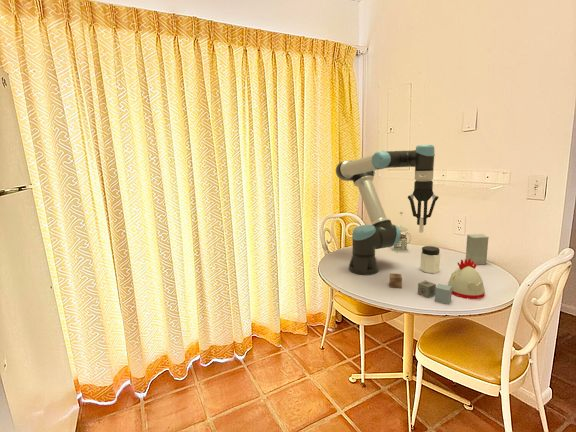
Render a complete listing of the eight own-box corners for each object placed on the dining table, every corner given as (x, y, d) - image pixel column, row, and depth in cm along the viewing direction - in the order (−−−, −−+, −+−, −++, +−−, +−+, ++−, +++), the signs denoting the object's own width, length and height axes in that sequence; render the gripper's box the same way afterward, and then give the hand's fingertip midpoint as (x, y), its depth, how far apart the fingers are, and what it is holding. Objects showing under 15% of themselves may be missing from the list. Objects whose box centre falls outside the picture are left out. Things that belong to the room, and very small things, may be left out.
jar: (432, 274, 151) (433, 251, 149) (417, 270, 157) (418, 248, 155) (442, 270, 156) (443, 248, 153) (427, 266, 162) (428, 245, 160)
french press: (397, 247, 199) (398, 209, 194) (413, 250, 190) (415, 211, 186) (388, 250, 193) (389, 211, 188) (405, 254, 184) (407, 214, 179)
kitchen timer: (441, 286, 137) (442, 254, 134) (469, 284, 138) (472, 253, 135) (460, 300, 124) (462, 265, 121) (492, 298, 124) (495, 263, 122)
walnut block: (390, 287, 138) (390, 277, 137) (389, 283, 143) (389, 273, 142) (401, 288, 136) (402, 278, 136) (400, 284, 141) (401, 274, 140)
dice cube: (424, 291, 133) (425, 280, 132) (435, 295, 129) (436, 284, 128) (417, 293, 130) (418, 283, 130) (428, 298, 126) (428, 287, 125)
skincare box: (480, 260, 168) (482, 233, 165) (487, 265, 161) (489, 236, 158) (464, 260, 169) (466, 233, 166) (470, 265, 162) (472, 236, 159)
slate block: (434, 301, 123) (435, 287, 122) (438, 296, 127) (438, 283, 126) (448, 304, 120) (449, 290, 119) (451, 300, 124) (452, 286, 123)
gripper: (406, 181, 134) (404, 232, 138) (439, 181, 128) (436, 235, 132) (409, 179, 140) (407, 229, 145) (440, 179, 134) (437, 231, 138)
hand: (421, 231), depth 138 cm, fingers closed
